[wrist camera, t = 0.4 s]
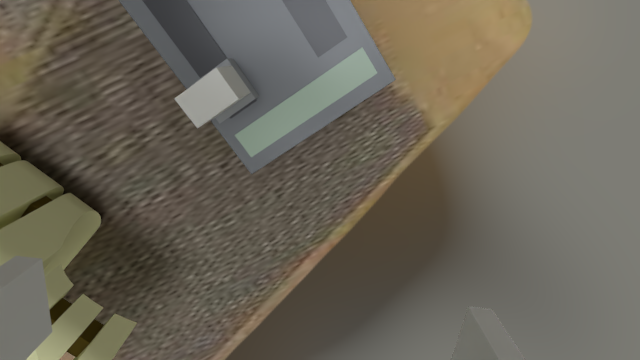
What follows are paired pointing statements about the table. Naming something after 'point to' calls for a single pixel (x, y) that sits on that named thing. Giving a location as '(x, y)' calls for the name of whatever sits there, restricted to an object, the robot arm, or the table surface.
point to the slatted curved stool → (55, 257)
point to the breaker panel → (264, 66)
